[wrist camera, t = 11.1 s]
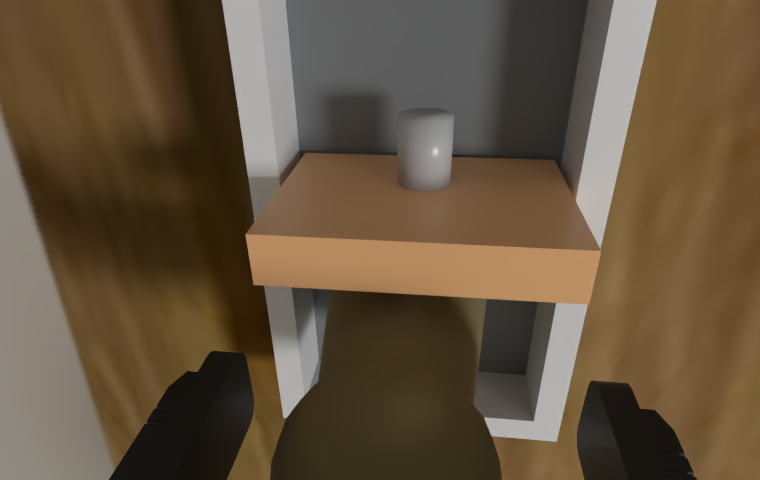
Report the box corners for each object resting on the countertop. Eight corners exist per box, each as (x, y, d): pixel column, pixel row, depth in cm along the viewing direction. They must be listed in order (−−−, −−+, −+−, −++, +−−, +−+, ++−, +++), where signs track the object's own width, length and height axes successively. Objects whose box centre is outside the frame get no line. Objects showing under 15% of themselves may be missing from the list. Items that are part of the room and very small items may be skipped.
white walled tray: (238, -91, 16) (156, -109, 11) (652, -102, 14) (740, -127, 10) (294, 359, 24) (260, 446, 20) (554, 378, 23) (578, 476, 19)
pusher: (300, 94, 17) (232, 156, 12) (564, 98, 16) (620, 168, 11) (308, 192, 18) (253, 285, 13) (547, 201, 18) (588, 304, 12)
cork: (409, 348, 22) (378, 653, 12) (304, 257, 20) (172, 527, 11) (524, 270, 19) (598, 577, 10) (414, 158, 18) (371, 395, 8)
